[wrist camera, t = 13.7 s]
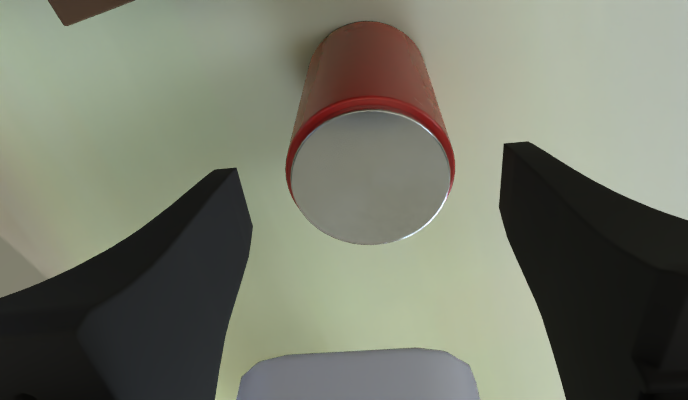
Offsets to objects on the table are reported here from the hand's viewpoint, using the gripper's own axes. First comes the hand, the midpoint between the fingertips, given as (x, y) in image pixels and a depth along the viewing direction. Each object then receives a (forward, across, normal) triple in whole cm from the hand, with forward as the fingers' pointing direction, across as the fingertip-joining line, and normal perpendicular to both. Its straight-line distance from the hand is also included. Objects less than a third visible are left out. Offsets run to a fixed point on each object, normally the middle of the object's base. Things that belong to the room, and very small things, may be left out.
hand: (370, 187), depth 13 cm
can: (+9, 0, 0) cm, 9 cm away
